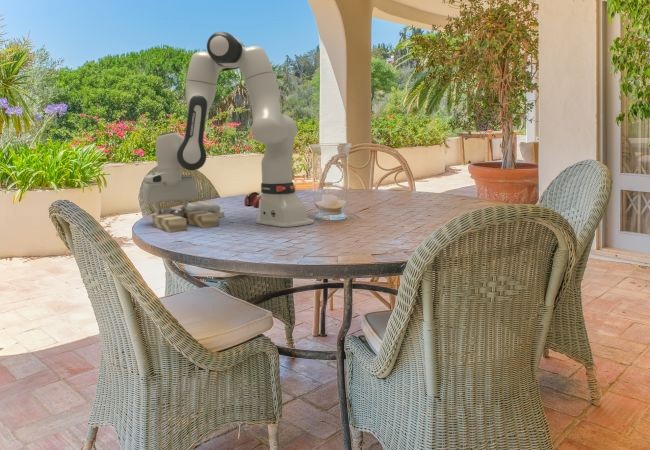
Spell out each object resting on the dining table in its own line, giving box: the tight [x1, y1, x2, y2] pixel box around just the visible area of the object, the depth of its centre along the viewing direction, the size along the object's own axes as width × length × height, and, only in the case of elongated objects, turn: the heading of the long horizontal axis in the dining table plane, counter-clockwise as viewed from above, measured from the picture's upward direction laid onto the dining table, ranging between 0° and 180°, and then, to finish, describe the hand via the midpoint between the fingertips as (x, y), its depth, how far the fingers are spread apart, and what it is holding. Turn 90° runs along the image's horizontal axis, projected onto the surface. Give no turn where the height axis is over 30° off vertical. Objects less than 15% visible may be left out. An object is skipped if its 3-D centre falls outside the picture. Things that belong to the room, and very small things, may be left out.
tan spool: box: [151, 210, 220, 233], centre depth 203 cm, size 16×18×4 cm
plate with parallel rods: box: [179, 200, 225, 219], centre depth 224 cm, size 16×12×5 cm
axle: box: [162, 207, 187, 220], centre depth 211 cm, size 12×5×5 cm, turn 37°
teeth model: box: [244, 191, 262, 209], centre depth 251 cm, size 8×6×12 cm
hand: (171, 213), depth 212 cm, fingers open, 8 cm apart
